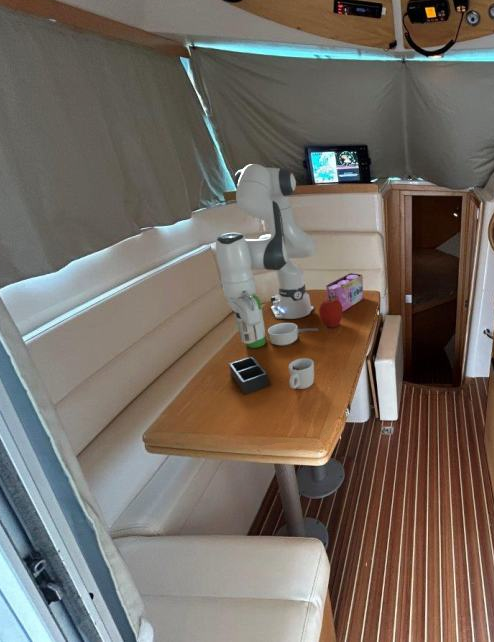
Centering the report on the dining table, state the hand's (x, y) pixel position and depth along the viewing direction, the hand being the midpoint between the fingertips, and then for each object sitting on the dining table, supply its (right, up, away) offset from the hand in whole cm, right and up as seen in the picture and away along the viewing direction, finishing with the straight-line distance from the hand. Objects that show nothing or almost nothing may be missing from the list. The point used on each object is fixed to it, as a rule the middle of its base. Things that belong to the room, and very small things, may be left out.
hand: (247, 328), depth 115 cm
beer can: (0, -4, +2) cm, 5 cm away
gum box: (+15, +6, +73) cm, 75 cm away
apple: (+14, -3, +50) cm, 52 cm away
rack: (-3, -18, +9) cm, 21 cm away
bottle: (-12, -9, +32) cm, 36 cm away
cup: (+16, -20, +5) cm, 26 cm away
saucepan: (+2, -8, +36) cm, 37 cm away
